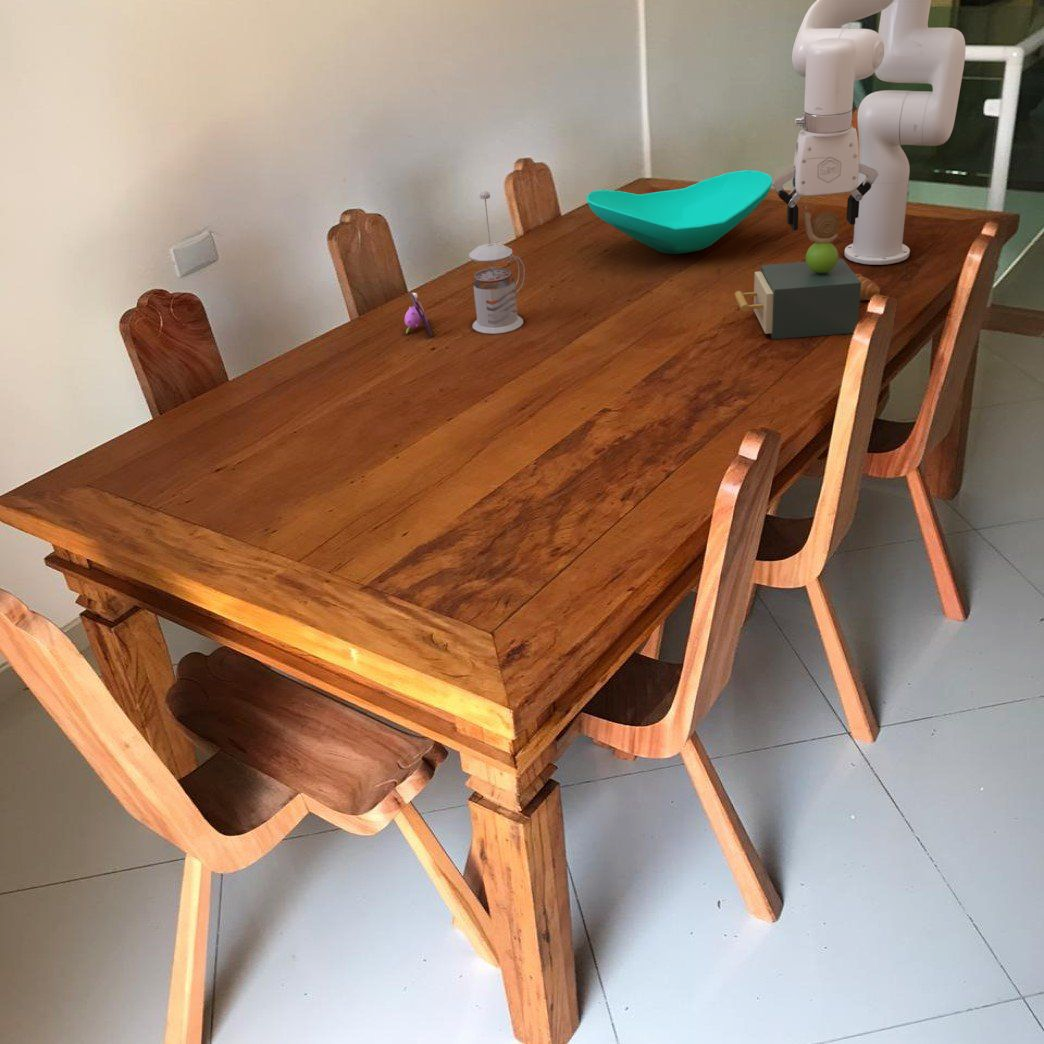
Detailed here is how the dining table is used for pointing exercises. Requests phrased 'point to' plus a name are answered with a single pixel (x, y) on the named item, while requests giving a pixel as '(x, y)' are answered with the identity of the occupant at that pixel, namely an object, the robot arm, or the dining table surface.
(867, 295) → the pastry
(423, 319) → the purple plush toy
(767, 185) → the table top decor
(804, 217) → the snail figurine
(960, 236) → the dining table surface
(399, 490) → the dining table surface
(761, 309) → the drawer
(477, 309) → the french press
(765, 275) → the cabinet
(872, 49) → the robot arm
